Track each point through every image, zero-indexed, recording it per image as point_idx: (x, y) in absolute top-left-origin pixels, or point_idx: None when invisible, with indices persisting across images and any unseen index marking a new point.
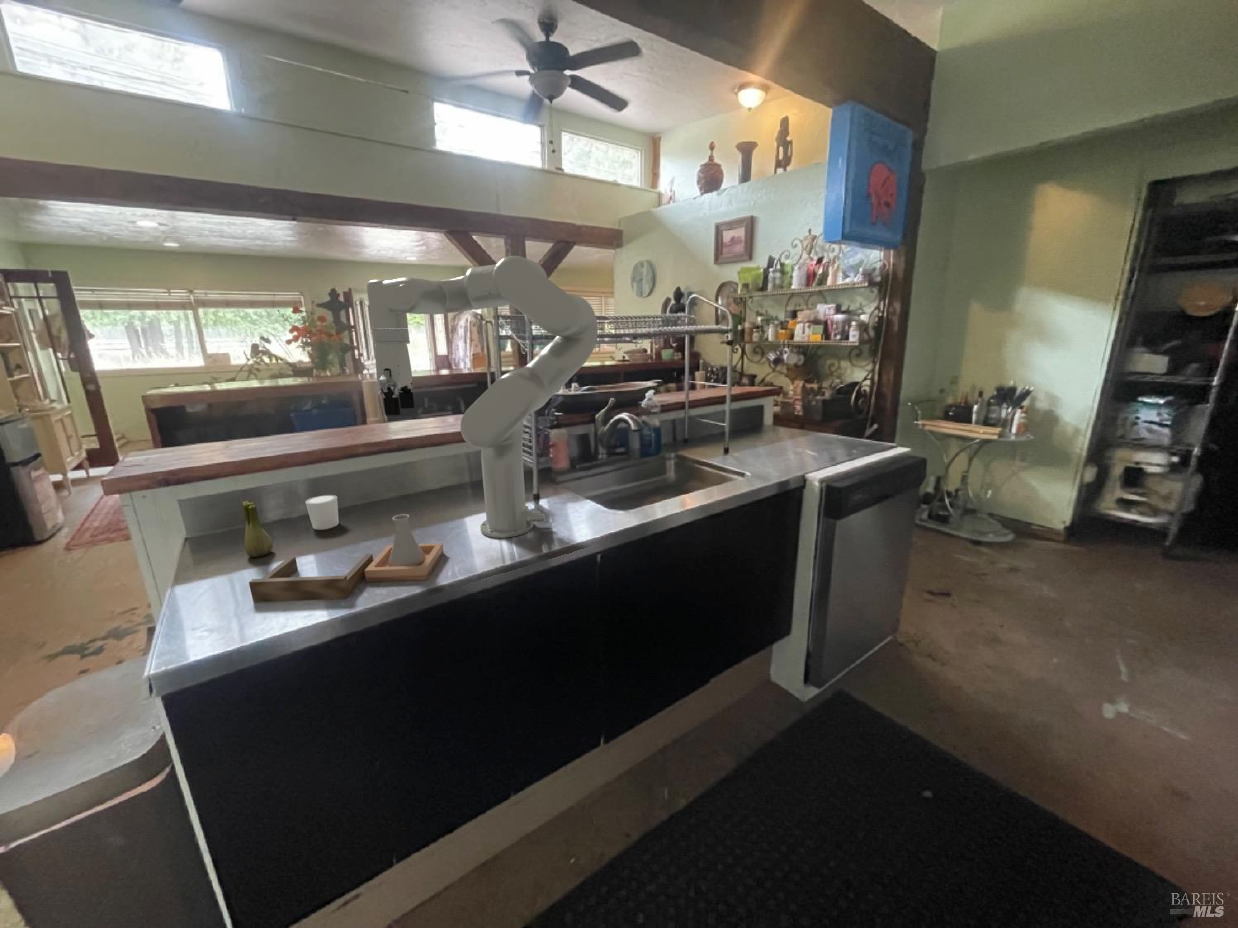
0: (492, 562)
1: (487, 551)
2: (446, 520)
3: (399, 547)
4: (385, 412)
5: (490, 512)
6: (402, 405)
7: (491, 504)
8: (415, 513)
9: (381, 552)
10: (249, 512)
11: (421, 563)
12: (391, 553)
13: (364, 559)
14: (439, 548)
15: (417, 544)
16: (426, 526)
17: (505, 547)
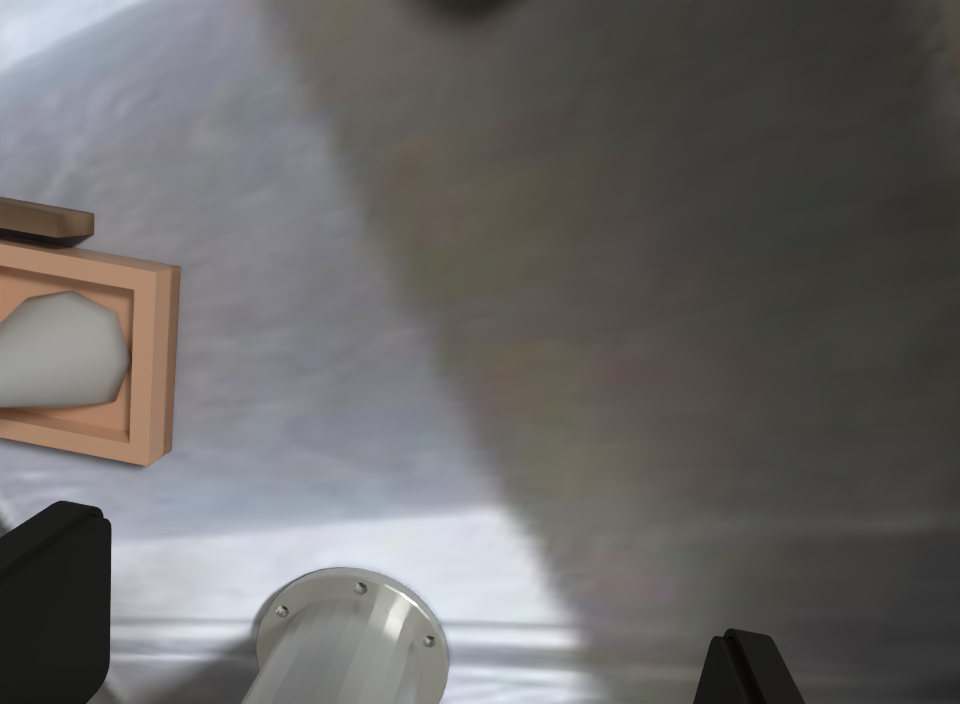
0: None
1: (170, 580)
2: (495, 438)
3: None
4: (41, 515)
5: (271, 659)
6: (719, 688)
7: (250, 692)
8: (628, 297)
9: (92, 262)
10: None
11: None
12: (5, 319)
13: (13, 220)
14: (110, 457)
15: (52, 404)
16: (445, 365)
17: (193, 632)
